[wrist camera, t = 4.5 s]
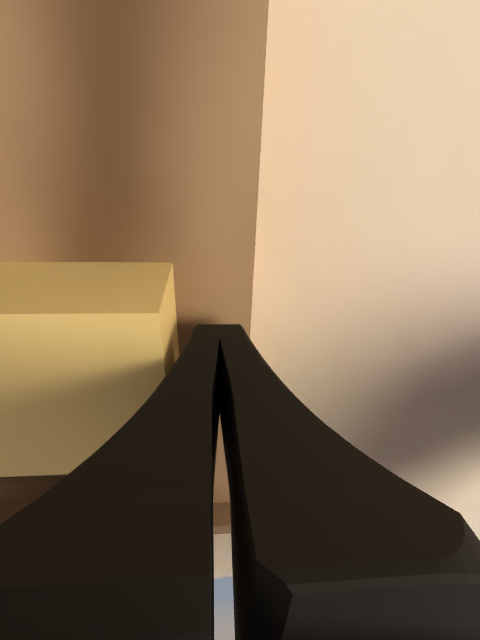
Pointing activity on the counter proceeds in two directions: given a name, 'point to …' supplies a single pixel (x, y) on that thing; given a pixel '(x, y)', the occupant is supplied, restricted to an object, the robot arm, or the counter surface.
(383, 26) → the counter surface
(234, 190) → the box
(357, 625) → the robot arm
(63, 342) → the block
